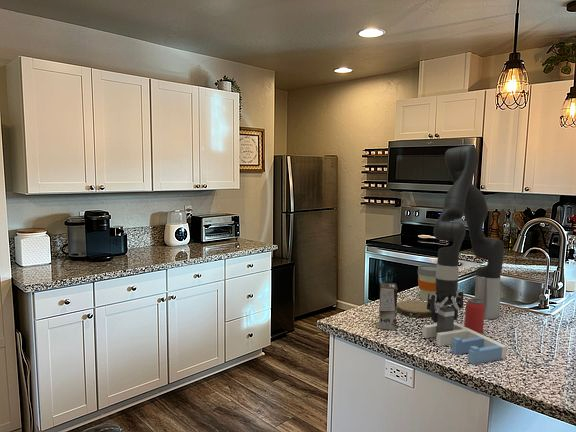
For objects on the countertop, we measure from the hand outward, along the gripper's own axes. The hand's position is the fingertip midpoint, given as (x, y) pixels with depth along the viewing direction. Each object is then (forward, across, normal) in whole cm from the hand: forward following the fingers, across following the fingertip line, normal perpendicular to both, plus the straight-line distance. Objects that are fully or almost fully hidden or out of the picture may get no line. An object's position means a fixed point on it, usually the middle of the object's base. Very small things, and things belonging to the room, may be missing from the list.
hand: (444, 320), depth 154 cm
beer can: (+7, -16, -2) cm, 18 cm away
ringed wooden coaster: (+7, -9, -28) cm, 31 cm away
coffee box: (+7, +12, -18) cm, 23 cm away
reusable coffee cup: (+7, -28, -42) cm, 51 cm away
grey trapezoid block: (+7, 0, 0) cm, 7 cm away
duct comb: (+7, 0, +8) cm, 10 cm away
